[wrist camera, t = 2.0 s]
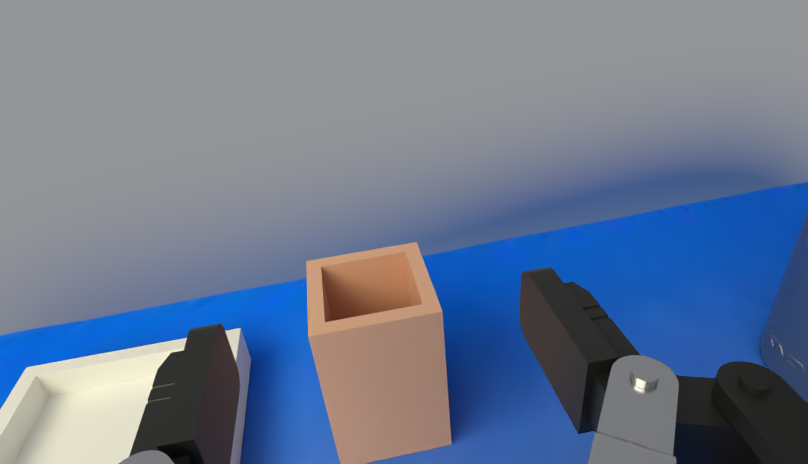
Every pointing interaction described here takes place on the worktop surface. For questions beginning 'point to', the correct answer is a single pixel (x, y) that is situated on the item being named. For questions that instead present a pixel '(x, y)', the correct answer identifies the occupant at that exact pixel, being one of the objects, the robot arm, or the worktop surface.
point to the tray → (95, 405)
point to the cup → (379, 352)
